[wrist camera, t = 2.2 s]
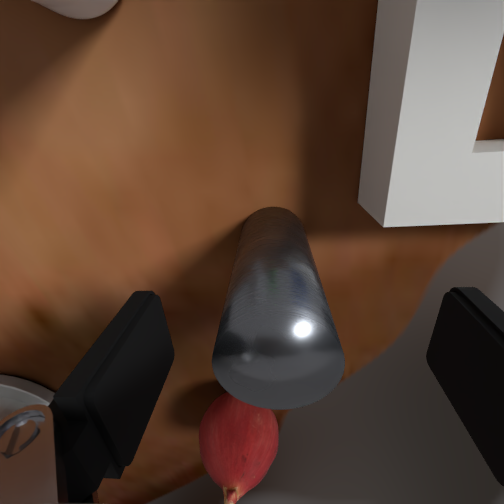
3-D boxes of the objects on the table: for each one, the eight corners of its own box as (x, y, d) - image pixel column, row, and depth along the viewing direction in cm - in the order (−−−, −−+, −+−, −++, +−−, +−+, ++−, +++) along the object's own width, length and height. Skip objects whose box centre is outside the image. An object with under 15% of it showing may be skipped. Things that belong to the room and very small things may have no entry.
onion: (291, 392, 24) (301, 513, 16) (243, 419, 26) (233, 537, 18) (243, 354, 22) (230, 470, 15) (195, 386, 24) (165, 502, 17)
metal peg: (304, 264, 18) (339, 409, 9) (243, 266, 18) (220, 409, 9) (305, 205, 16) (350, 312, 7) (238, 208, 17) (203, 315, 8)
